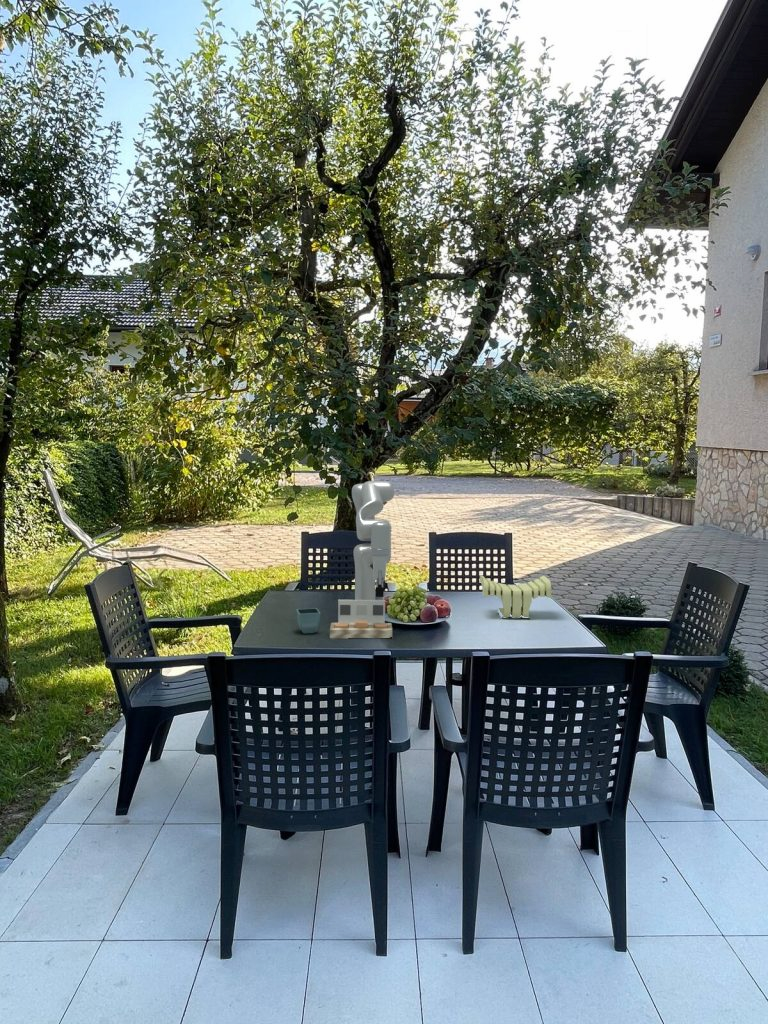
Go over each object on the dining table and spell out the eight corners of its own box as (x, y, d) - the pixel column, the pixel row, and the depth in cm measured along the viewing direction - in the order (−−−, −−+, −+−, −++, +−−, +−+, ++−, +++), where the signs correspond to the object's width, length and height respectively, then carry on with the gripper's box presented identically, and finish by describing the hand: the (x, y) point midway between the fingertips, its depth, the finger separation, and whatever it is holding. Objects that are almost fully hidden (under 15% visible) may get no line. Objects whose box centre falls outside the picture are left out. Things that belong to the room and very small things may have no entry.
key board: (329, 638, 289) (329, 629, 289) (331, 630, 301) (331, 622, 301) (392, 638, 290) (392, 630, 289) (391, 631, 302) (391, 623, 301)
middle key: (355, 631, 293) (355, 622, 292) (355, 628, 298) (355, 620, 297) (367, 631, 293) (367, 623, 292) (367, 628, 298) (367, 620, 297)
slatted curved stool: (483, 619, 325) (484, 580, 324) (478, 611, 341) (479, 574, 340) (550, 620, 325) (551, 581, 323) (542, 612, 341) (543, 575, 339)
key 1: (335, 634, 293) (335, 625, 292) (335, 631, 298) (335, 623, 297) (347, 634, 293) (347, 626, 292) (347, 631, 298) (347, 623, 297)
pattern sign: (337, 627, 308) (338, 601, 307) (338, 624, 313) (338, 598, 312) (384, 627, 308) (385, 601, 307) (384, 624, 313) (384, 599, 312)
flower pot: (299, 635, 293) (299, 613, 292) (295, 630, 301) (296, 609, 301) (320, 634, 295) (320, 612, 295) (316, 629, 304) (316, 608, 303)
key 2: (374, 634, 293) (374, 626, 293) (374, 631, 298) (374, 623, 298) (387, 634, 293) (387, 626, 293) (386, 631, 298) (386, 623, 298)
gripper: (370, 549, 301) (370, 592, 303) (371, 555, 286) (370, 600, 288) (388, 549, 301) (387, 592, 303) (390, 555, 287) (389, 600, 288)
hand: (379, 596), depth 296 cm, fingers closed
